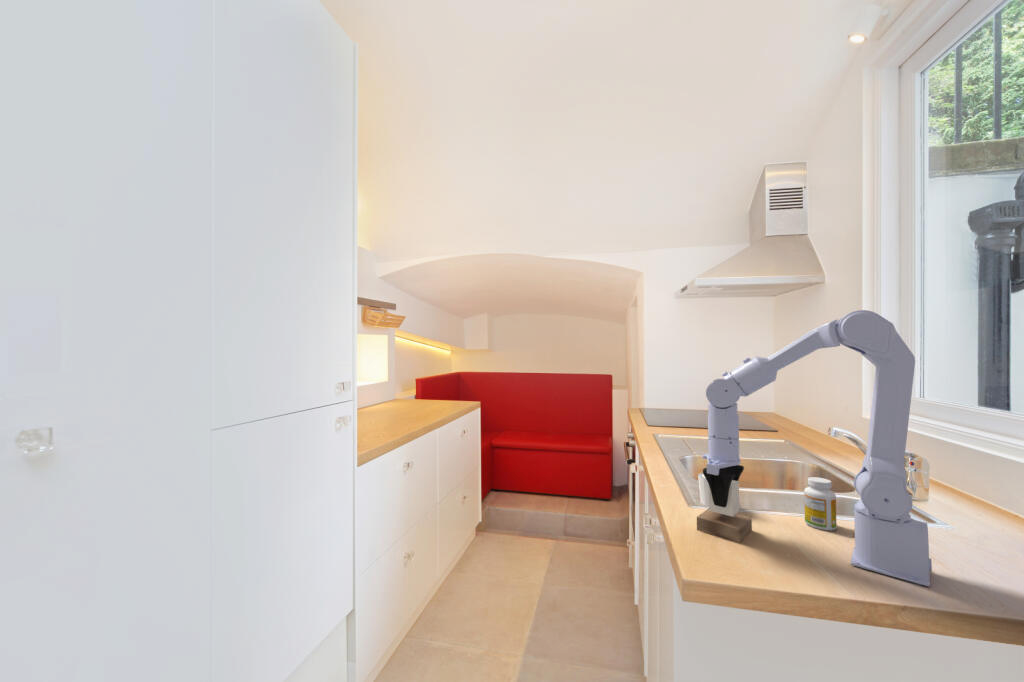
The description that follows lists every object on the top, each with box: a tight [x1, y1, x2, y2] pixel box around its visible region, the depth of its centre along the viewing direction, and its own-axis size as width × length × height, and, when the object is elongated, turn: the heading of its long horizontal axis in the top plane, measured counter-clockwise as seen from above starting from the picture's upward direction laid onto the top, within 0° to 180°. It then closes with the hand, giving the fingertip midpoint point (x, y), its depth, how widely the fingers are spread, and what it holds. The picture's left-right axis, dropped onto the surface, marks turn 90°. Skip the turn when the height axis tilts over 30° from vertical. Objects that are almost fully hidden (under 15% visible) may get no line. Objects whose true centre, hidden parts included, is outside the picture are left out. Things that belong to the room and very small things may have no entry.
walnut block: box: [696, 508, 753, 544], centre depth 83 cm, size 8×8×3 cm
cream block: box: [708, 480, 740, 517], centre depth 83 cm, size 4×4×6 cm
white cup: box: [697, 472, 709, 507], centre depth 96 cm, size 7×7×7 cm
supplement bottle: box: [803, 476, 838, 531], centre depth 86 cm, size 5×5×10 cm
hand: (724, 502), depth 83 cm, fingers closed on cream block, 4 cm apart
